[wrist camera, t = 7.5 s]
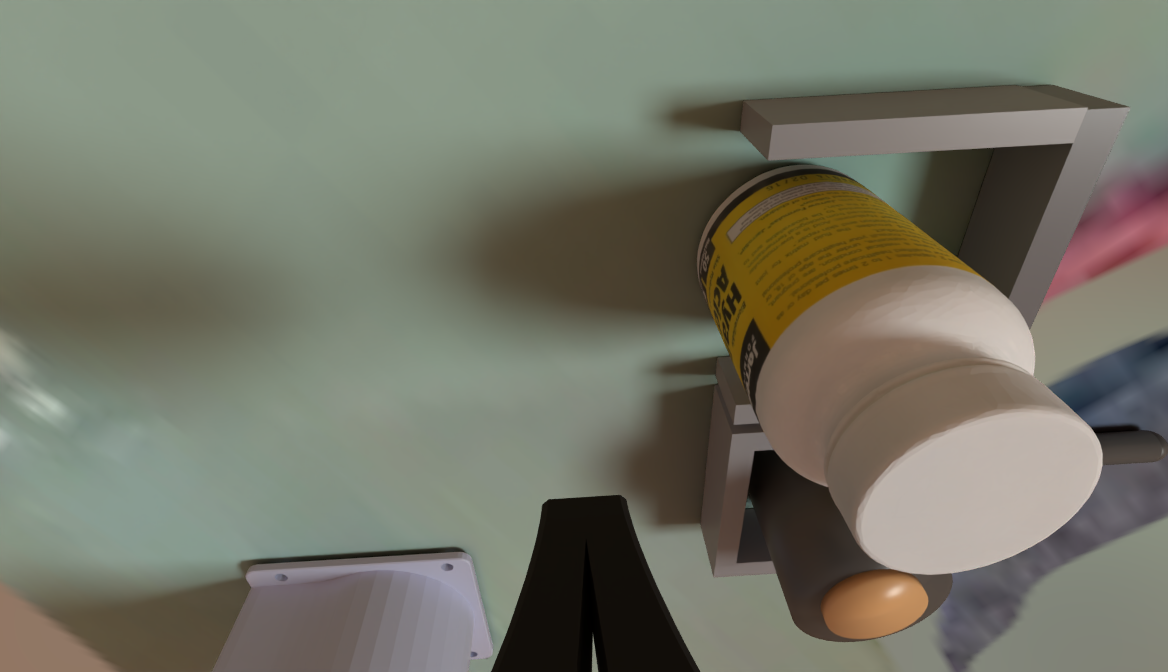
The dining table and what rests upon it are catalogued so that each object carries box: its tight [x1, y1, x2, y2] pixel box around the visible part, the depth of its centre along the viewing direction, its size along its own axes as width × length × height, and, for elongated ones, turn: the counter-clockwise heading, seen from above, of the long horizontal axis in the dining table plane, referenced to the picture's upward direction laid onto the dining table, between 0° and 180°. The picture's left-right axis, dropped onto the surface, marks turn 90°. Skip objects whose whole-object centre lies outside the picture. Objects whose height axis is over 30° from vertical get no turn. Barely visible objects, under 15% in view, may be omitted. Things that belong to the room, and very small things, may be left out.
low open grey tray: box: [700, 85, 1168, 642], centre depth 18 cm, size 17×17×6 cm
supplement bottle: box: [697, 165, 1103, 575], centre depth 14 cm, size 5×5×10 cm
